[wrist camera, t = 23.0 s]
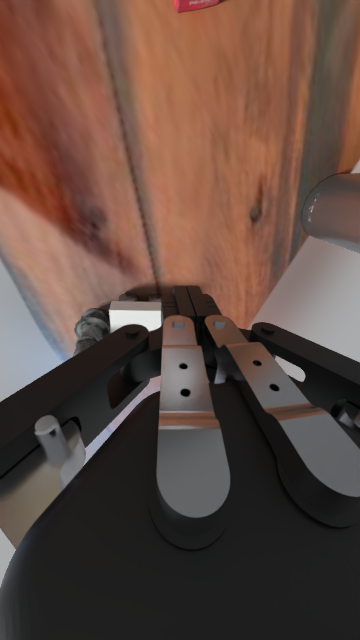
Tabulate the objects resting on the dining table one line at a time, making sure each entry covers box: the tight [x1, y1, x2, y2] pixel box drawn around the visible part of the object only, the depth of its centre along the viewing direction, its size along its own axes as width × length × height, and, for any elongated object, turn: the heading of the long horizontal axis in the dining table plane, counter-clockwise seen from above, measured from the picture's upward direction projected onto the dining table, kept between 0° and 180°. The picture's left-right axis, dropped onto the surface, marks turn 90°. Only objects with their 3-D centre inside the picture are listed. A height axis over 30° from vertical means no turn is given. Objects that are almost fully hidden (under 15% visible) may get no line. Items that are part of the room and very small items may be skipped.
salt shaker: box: [73, 308, 110, 356], centre depth 36 cm, size 6×6×12 cm
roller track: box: [119, 293, 163, 302], centre depth 42 cm, size 13×12×3 cm
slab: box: [109, 301, 161, 333], centre depth 39 cm, size 10×12×3 cm
